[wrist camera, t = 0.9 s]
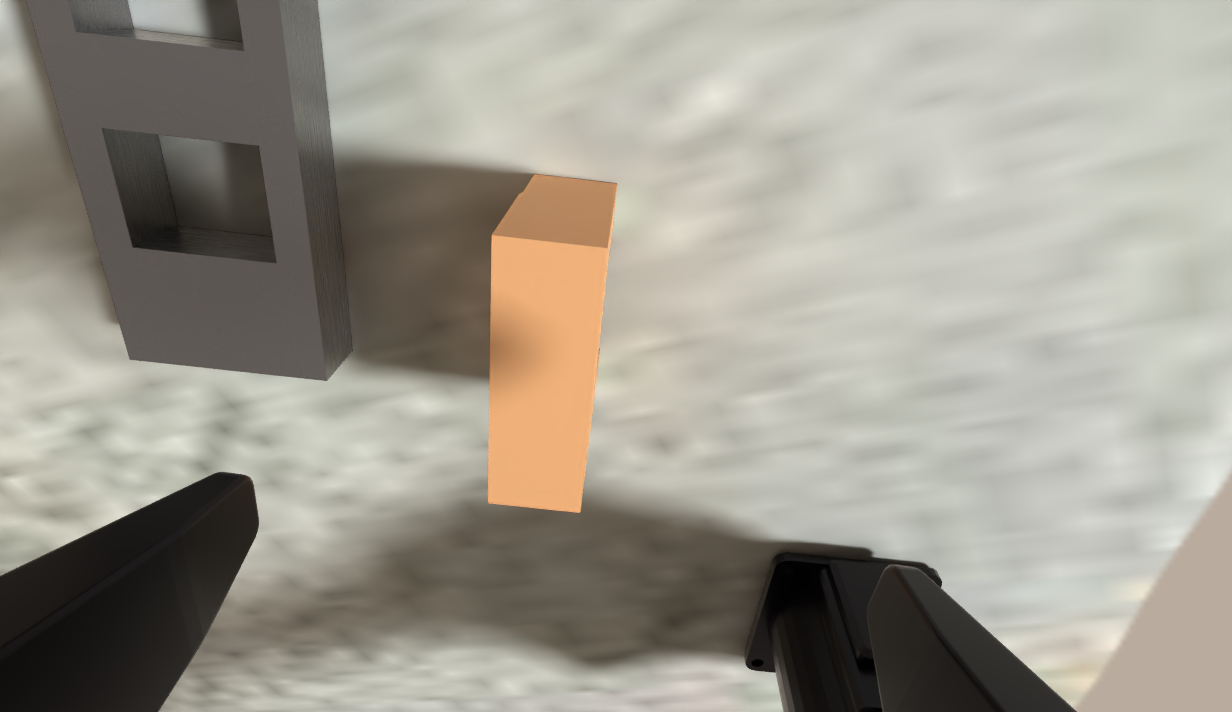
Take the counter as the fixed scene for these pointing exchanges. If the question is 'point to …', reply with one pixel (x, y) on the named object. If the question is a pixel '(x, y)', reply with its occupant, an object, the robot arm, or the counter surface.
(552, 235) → the clip
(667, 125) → the counter surface
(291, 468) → the counter surface
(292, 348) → the rail
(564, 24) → the counter surface
